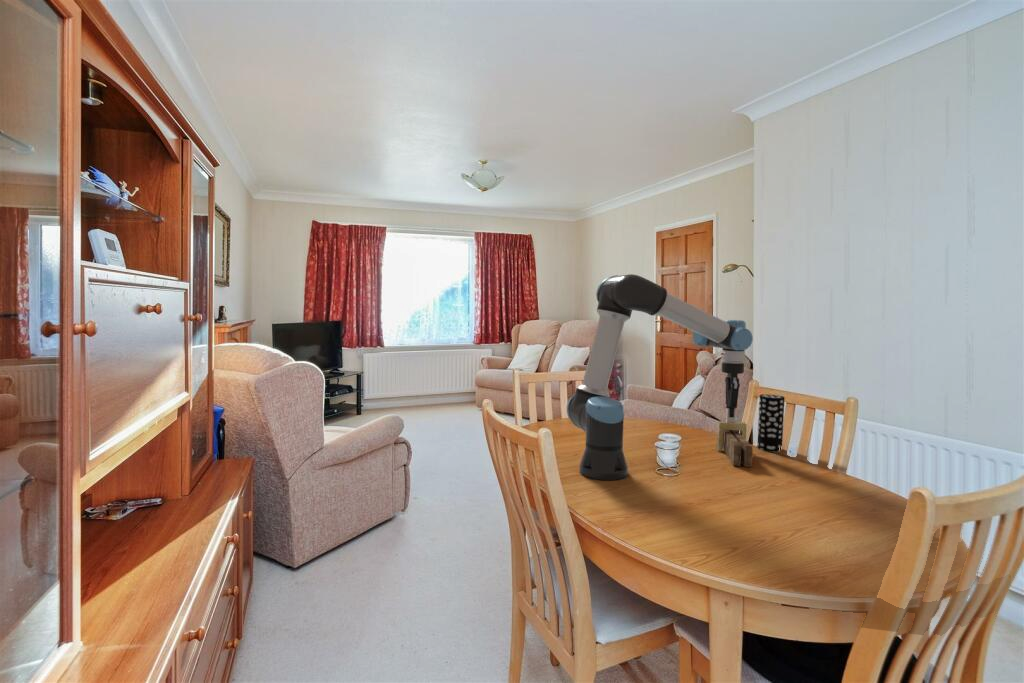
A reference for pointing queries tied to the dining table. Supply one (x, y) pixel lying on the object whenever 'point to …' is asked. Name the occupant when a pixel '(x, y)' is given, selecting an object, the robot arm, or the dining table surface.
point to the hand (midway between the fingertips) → (730, 425)
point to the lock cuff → (729, 426)
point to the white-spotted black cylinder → (770, 422)
